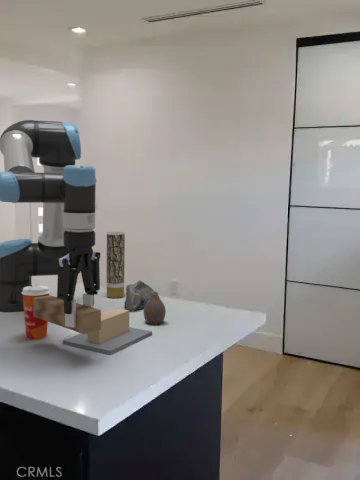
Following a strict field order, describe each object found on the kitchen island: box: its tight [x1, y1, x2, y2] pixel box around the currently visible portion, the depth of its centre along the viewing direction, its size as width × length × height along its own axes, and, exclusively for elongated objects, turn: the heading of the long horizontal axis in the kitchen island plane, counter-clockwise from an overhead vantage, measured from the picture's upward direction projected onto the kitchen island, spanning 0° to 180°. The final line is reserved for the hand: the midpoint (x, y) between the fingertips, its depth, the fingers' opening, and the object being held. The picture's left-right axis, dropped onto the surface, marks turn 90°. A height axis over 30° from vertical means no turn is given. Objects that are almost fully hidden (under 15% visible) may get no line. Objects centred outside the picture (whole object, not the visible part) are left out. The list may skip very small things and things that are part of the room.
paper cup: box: [22, 284, 51, 341], centre depth 137 cm, size 8×8×14 cm
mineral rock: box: [123, 280, 159, 312], centre depth 172 cm, size 13×11×10 cm
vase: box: [143, 294, 167, 325], centre depth 153 cm, size 7×7×9 cm
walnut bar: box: [33, 294, 102, 334], centre depth 124 cm, size 22×5×5 cm, turn 48°
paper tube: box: [106, 231, 126, 299], centre depth 188 cm, size 7×7×25 cm
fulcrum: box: [62, 308, 153, 356], centre depth 136 cm, size 16×20×7 cm
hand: (79, 322), depth 120 cm, fingers closed on walnut bar, 6 cm apart
